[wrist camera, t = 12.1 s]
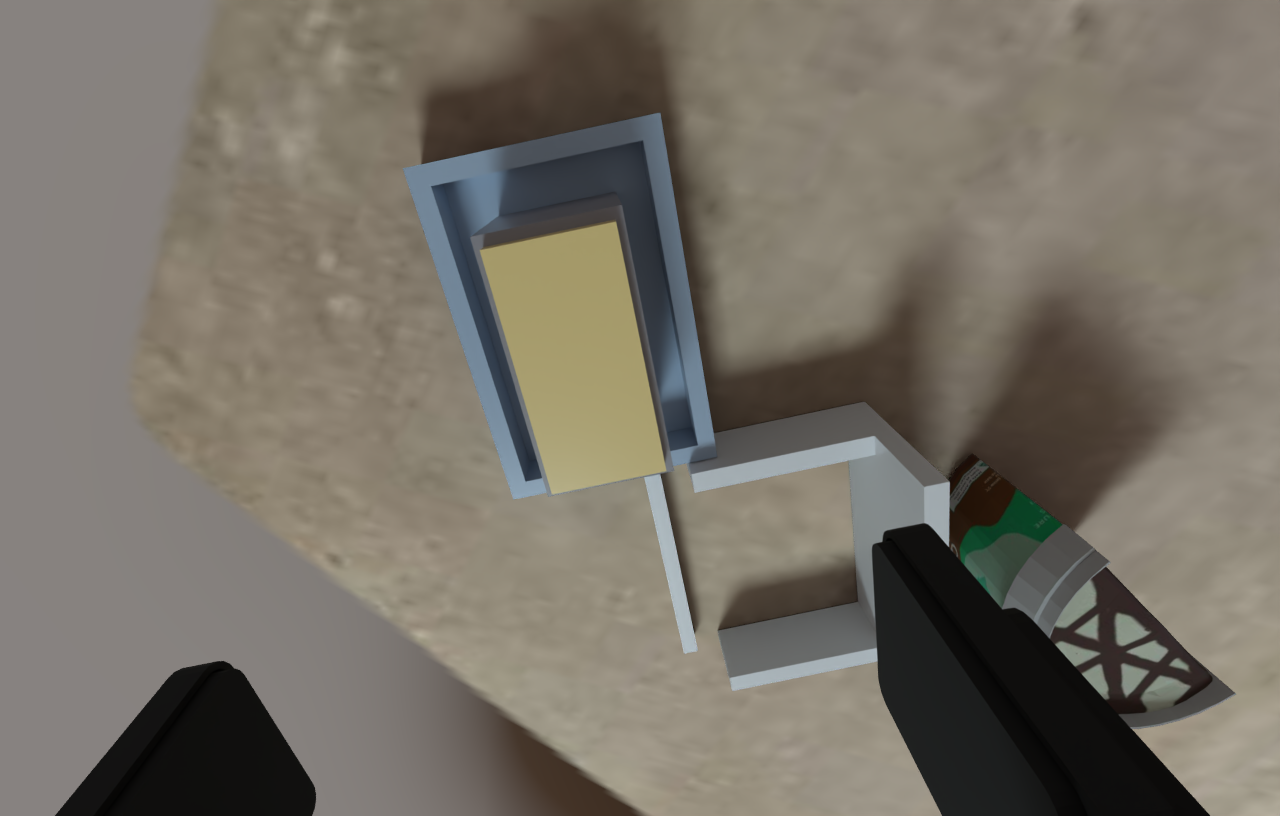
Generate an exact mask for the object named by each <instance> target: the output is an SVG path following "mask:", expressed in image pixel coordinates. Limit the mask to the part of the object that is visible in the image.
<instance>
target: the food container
mask: <svg viewBox="0 0 1280 816" xmlns="http://www.w3.org/2000/svg"><path fill="white" fill-rule="evenodd" d="M949 481H950V500H949V548H950V549H951V550H952V551H953V552H954V554H955V555H956V556H957V557H958V558H959V559H960V561H961V562H962V563H963V564H964V565H965V566H966V568H967V569H968V570H969V571H970V572H971V573H972V575H973V576H974V577H975V578H976V579H977V580H978V581H979V583H980V584H981V585H982V586H983V587H984V588H985V590H986V591H987V592H988V593H989V594H990V595H991V597H992V598H993V599H994V600H995V601H996V602H997V604H998V605H999V606H1000V607H1001V608H1002V609H1007V608H1017V609H1019V610H1021V611H1023V612H1024V613H1025V614H1027V615H1028V616H1029V617H1030V618H1031V619H1032V620H1033V621H1034V622H1035V623H1036V624H1037V625H1038V626H1039V627H1040V628H1041V630H1042V631H1043V632H1044V633H1045V634H1046V635H1047V636H1048V637H1049V638H1050V639H1051V641H1052V642H1053V643H1054V644H1055V645H1056V646H1057V647H1058V648H1059V649H1060V651H1061V652H1062V653H1063V654H1064V655H1065V656H1066V657H1067V658H1068V659H1069V660H1070V662H1071V663H1072V664H1073V665H1074V666H1075V667H1076V668H1077V669H1078V670H1079V671H1080V673H1081V674H1082V675H1083V676H1084V677H1085V678H1086V679H1087V680H1088V681H1089V683H1090V684H1091V685H1092V686H1093V687H1094V688H1095V689H1096V690H1097V691H1098V692H1099V694H1100V695H1101V696H1102V697H1103V698H1104V699H1105V700H1106V701H1107V702H1108V703H1109V705H1110V706H1111V707H1112V708H1113V709H1114V710H1115V711H1116V712H1117V713H1118V715H1119V716H1120V717H1121V718H1122V719H1123V720H1124V721H1125V722H1126V723H1127V724H1128V726H1129V727H1130V728H1131V729H1141V728H1148V727H1154V726H1160V725H1164V724H1168V723H1172V722H1176V721H1179V720H1182V719H1185V718H1188V717H1191V716H1193V715H1196V714H1199V713H1201V712H1203V711H1205V710H1207V709H1210V708H1212V707H1214V706H1216V705H1218V704H1220V703H1222V702H1223V701H1225V700H1227V699H1229V698H1230V697H1232V696H1234V695H1236V693H1235V692H1233V691H1232V690H1231V689H1230V688H1229V687H1228V686H1226V685H1225V684H1224V683H1223V682H1222V681H1221V680H1219V679H1218V678H1217V677H1216V676H1215V675H1214V674H1212V673H1211V672H1210V671H1209V670H1208V669H1207V668H1205V667H1204V666H1203V665H1202V664H1201V663H1200V662H1198V661H1197V660H1196V659H1195V658H1194V657H1193V656H1192V655H1190V654H1189V653H1188V652H1187V651H1186V650H1185V649H1184V648H1183V647H1182V645H1181V644H1180V643H1179V642H1178V641H1177V640H1176V639H1175V638H1174V637H1173V636H1172V635H1171V634H1170V633H1169V632H1168V630H1167V629H1166V628H1165V627H1164V626H1163V625H1162V624H1161V623H1160V622H1159V621H1158V620H1157V619H1156V618H1155V617H1154V616H1153V615H1152V614H1151V613H1150V612H1149V611H1148V610H1147V609H1146V608H1145V607H1144V606H1143V605H1142V604H1141V603H1140V602H1139V601H1138V600H1137V599H1136V598H1135V596H1134V595H1133V594H1132V593H1131V592H1130V591H1129V590H1128V589H1127V588H1126V587H1125V586H1124V585H1123V584H1122V583H1121V582H1120V581H1119V580H1118V579H1117V578H1116V577H1115V576H1114V575H1113V574H1112V572H1111V571H1110V570H1109V569H1108V568H1107V567H1106V566H1107V565H1108V564H1109V563H1111V562H1110V561H1108V560H1107V559H1106V558H1105V557H1104V556H1102V555H1101V554H1100V553H1099V552H1097V551H1096V550H1095V549H1094V548H1093V547H1092V546H1091V545H1090V544H1088V543H1087V542H1086V541H1085V540H1084V539H1082V538H1081V537H1080V536H1079V535H1078V534H1076V533H1075V532H1074V531H1073V530H1072V529H1070V528H1069V527H1068V526H1067V525H1066V524H1062V523H1060V522H1059V521H1058V520H1057V519H1055V518H1054V517H1053V516H1051V515H1050V514H1049V513H1048V512H1046V511H1045V510H1044V509H1043V508H1041V507H1040V506H1039V505H1037V504H1036V503H1035V502H1034V501H1032V500H1031V499H1030V498H1029V497H1027V496H1026V495H1025V494H1023V493H1022V492H1021V491H1020V490H1018V489H1017V488H1016V487H1015V486H1013V485H1012V484H1011V483H1009V482H1008V481H1007V480H1006V479H1004V478H1003V477H1002V476H1001V475H999V474H998V473H997V472H995V471H994V470H993V469H992V468H990V467H989V466H988V465H987V464H985V463H984V462H983V461H981V460H980V459H979V458H978V457H976V456H975V455H974V454H972V455H970V456H969V457H968V458H967V459H966V460H965V461H964V462H963V463H962V464H961V465H960V466H959V467H958V468H957V469H956V470H955V472H954V473H953V475H952V476H951V478H950V480H949Z"/></svg>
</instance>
